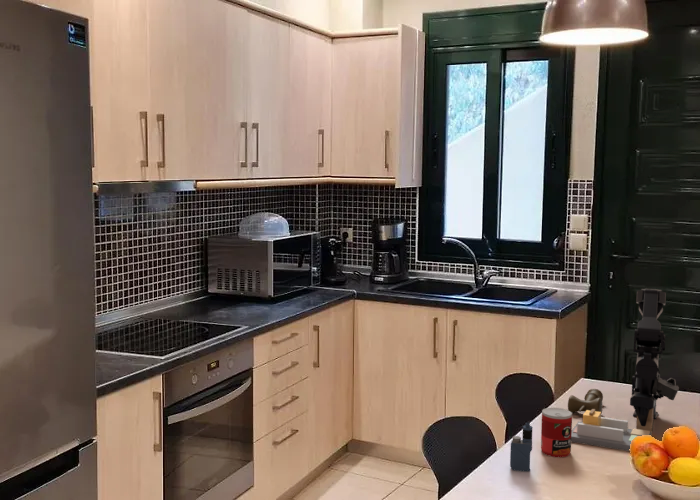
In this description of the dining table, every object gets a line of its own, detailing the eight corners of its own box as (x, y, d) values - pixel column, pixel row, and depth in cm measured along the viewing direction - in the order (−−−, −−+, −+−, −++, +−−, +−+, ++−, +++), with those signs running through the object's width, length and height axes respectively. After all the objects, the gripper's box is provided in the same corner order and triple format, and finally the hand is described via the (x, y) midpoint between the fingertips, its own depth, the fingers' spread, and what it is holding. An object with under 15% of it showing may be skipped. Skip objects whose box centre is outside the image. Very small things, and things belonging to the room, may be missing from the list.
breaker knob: (585, 427, 227) (586, 407, 226) (600, 429, 225) (601, 409, 225) (582, 432, 223) (583, 412, 222) (597, 434, 221) (597, 414, 220)
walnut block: (638, 427, 232) (639, 403, 231) (652, 429, 230) (653, 405, 230) (636, 431, 229) (637, 407, 228) (650, 433, 227) (652, 409, 226)
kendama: (610, 407, 253) (596, 423, 236) (579, 403, 258) (563, 418, 240) (611, 388, 252) (596, 403, 235) (580, 385, 257) (563, 399, 240)
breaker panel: (578, 426, 233) (578, 411, 232) (651, 437, 223) (652, 421, 223) (567, 441, 220) (568, 425, 220) (644, 453, 211) (645, 437, 211)
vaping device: (531, 472, 198) (533, 425, 197) (509, 470, 199) (511, 423, 198) (531, 468, 201) (532, 421, 199) (510, 466, 202) (511, 420, 200)
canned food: (554, 459, 207) (556, 418, 205) (534, 449, 214) (535, 409, 212) (577, 454, 210) (578, 414, 209) (556, 445, 217) (557, 405, 216)
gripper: (674, 381, 216) (671, 437, 217) (680, 366, 232) (678, 418, 234) (630, 376, 221) (628, 431, 222) (640, 361, 237) (637, 412, 239)
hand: (644, 423), depth 229 cm, fingers open, 5 cm apart
